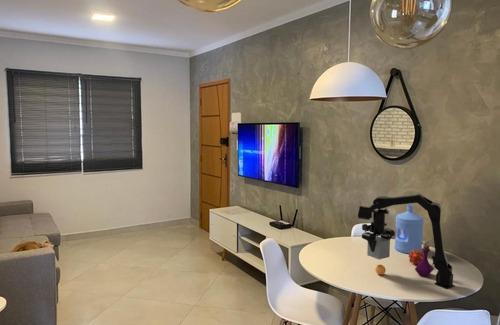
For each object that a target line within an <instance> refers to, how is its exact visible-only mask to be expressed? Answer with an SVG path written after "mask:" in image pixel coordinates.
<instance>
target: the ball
mask: <svg viewBox="0 0 500 325" xmlns="http://www.w3.org/2000/svg"><path fill="white" fill-rule="evenodd" d="M374 268H375V269H374V271H375V272H376V274H378V275H384V274H385V273H386V267H385V266H384V265H382V264H377V265H376V266H375V267H374Z"/></svg>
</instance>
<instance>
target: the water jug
mask: <svg viewBox="0 0 500 325" xmlns="http://www.w3.org/2000/svg"><path fill="white" fill-rule="evenodd" d="M406 206H407V207H406V211H404V212H402V213H398V214H396V215H395V216H396V217H395V228H396V232H395V236H394V237H395V238H394V249H395V250H396V251H397V252H400V253H403V254H408V255H409V254H410V252H411V251H413V250H419V251H420V252H423V250H422V248H423V237H424V236H423V230H424V217H423V216H421V215H419V214H417V213H415V212H413V209H414V207H413V206H414V205H412V204H406ZM400 230H401V231H400ZM400 232H401V233H400Z"/></svg>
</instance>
